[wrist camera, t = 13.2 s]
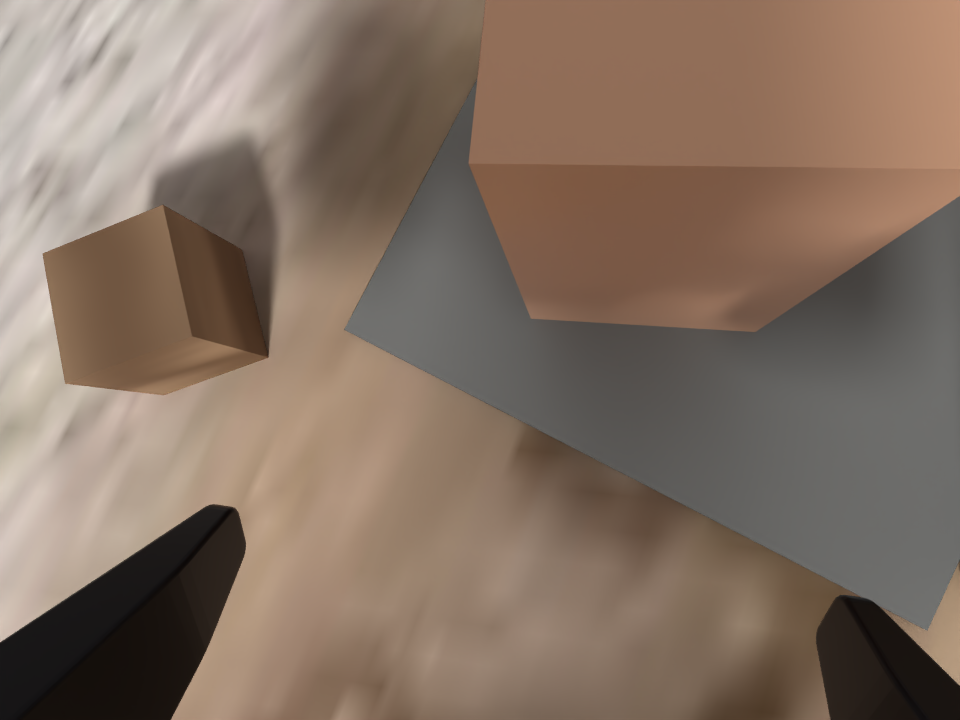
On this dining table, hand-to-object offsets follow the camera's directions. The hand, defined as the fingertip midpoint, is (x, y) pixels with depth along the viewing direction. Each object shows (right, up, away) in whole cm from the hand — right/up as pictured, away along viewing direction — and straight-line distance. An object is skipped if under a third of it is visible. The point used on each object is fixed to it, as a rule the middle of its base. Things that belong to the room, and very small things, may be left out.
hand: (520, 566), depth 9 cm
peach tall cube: (+4, +7, +9) cm, 12 cm away
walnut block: (-10, +4, +11) cm, 16 cm away
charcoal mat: (+7, +7, +9) cm, 13 cm away
